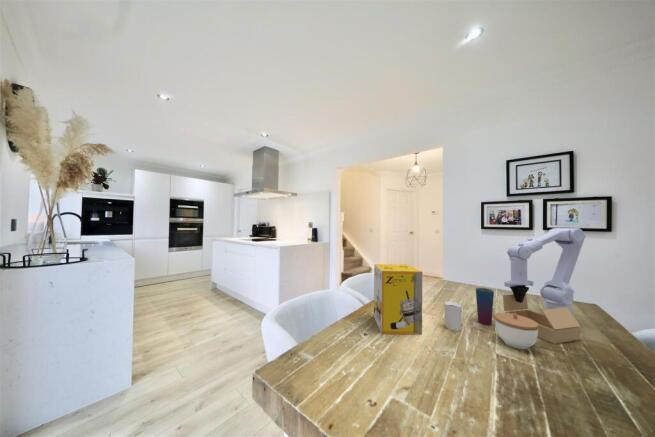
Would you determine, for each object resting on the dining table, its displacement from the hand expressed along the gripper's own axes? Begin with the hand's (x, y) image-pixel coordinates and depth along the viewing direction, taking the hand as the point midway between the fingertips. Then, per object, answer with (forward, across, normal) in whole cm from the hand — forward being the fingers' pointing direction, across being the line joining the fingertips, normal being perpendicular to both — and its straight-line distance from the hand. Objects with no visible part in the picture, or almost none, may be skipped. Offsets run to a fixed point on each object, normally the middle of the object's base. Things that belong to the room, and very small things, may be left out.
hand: (519, 301), depth 102 cm
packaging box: (+10, -57, +9) cm, 58 cm away
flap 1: (+1, 0, +1) cm, 2 cm away
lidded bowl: (+10, -21, -14) cm, 27 cm away
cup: (+10, -16, +3) cm, 19 cm away
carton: (+9, 0, -8) cm, 12 cm away
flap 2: (+1, 0, -15) cm, 15 cm away
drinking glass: (+10, -34, +2) cm, 35 cm away
